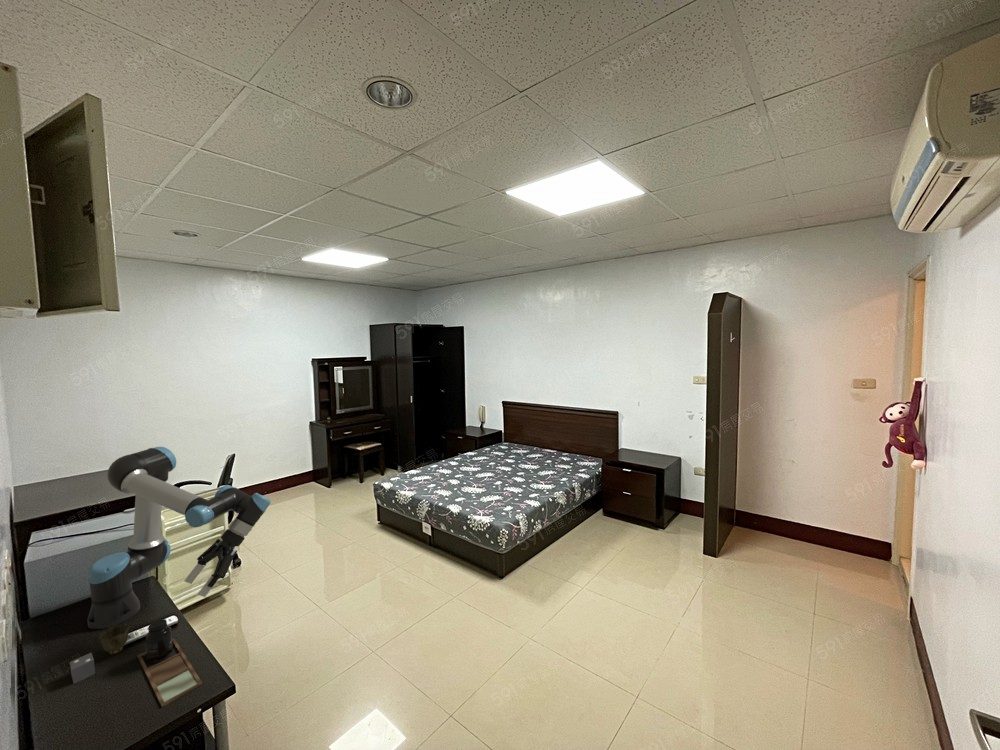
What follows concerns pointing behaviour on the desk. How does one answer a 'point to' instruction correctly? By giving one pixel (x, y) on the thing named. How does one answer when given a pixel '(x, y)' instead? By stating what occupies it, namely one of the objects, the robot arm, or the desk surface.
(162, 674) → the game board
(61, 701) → the desk surface
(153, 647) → the supplement bottle
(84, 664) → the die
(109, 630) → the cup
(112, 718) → the desk surface
